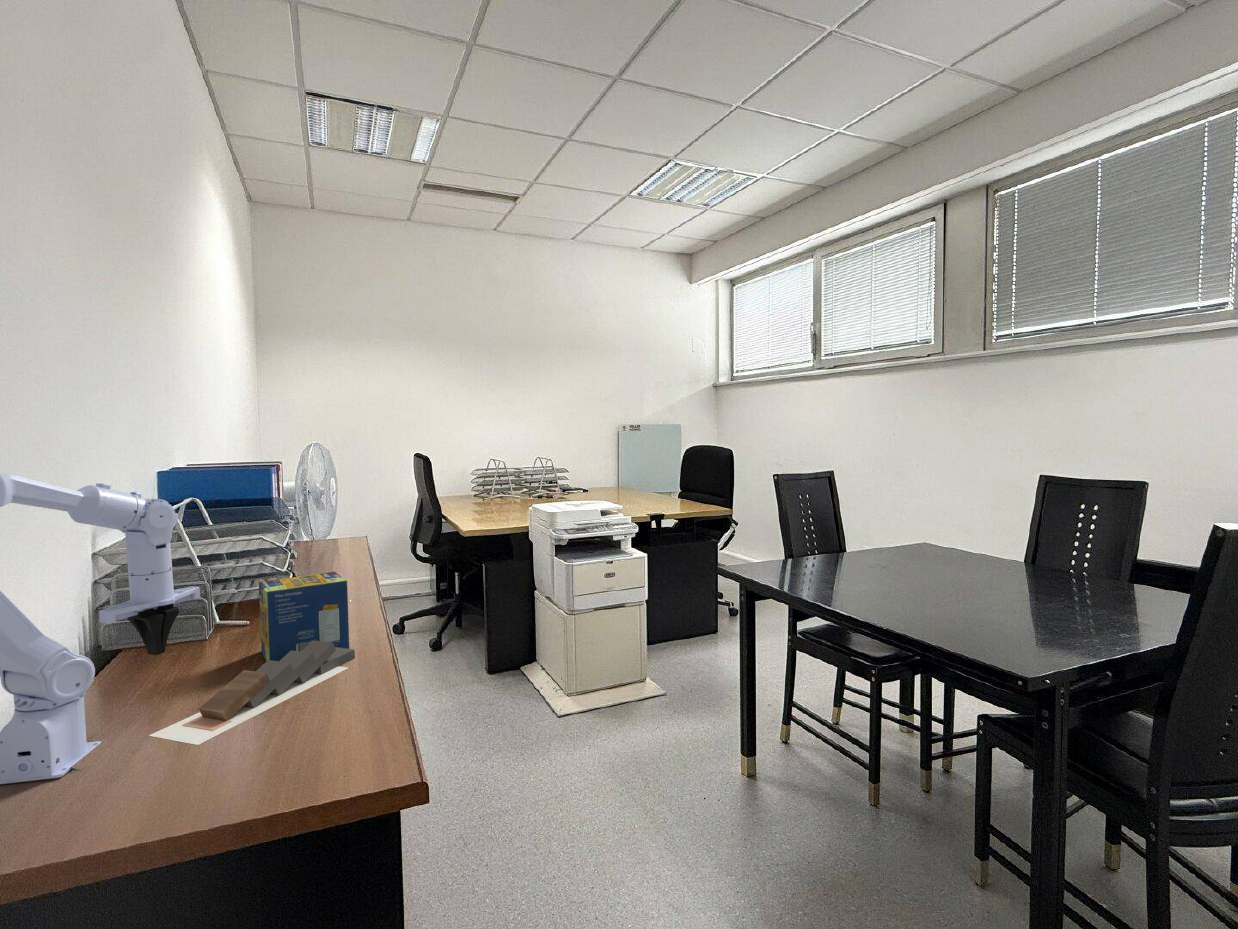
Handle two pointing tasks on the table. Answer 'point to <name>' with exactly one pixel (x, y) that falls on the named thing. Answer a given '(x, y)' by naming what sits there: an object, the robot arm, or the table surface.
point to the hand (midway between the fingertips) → (156, 653)
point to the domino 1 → (234, 695)
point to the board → (206, 728)
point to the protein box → (303, 613)
